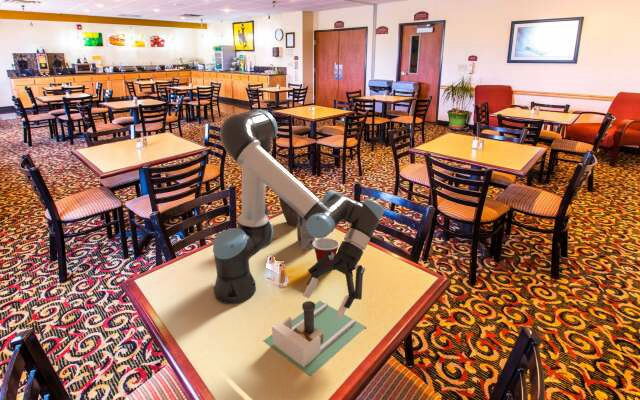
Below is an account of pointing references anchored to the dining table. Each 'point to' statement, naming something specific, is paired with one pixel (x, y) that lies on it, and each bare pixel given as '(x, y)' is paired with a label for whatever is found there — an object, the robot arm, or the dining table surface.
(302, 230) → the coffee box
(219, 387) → the dining table surface
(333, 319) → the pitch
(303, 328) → the rubber stamp
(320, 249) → the plastic cup
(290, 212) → the plant pot
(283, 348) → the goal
